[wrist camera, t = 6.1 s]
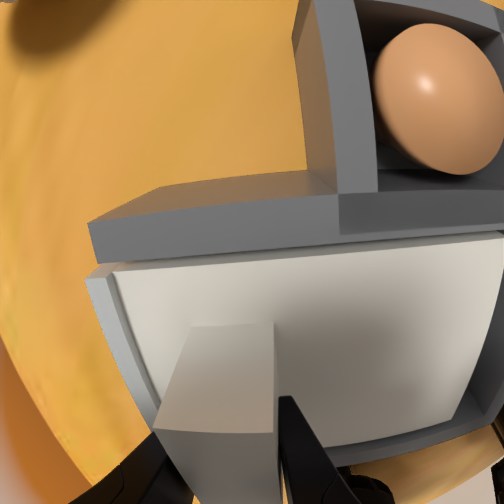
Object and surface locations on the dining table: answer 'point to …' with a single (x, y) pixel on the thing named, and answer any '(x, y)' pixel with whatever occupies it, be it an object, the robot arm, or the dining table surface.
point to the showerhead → (8, 1)
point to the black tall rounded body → (366, 488)
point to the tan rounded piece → (437, 100)
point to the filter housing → (341, 185)
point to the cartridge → (296, 346)
